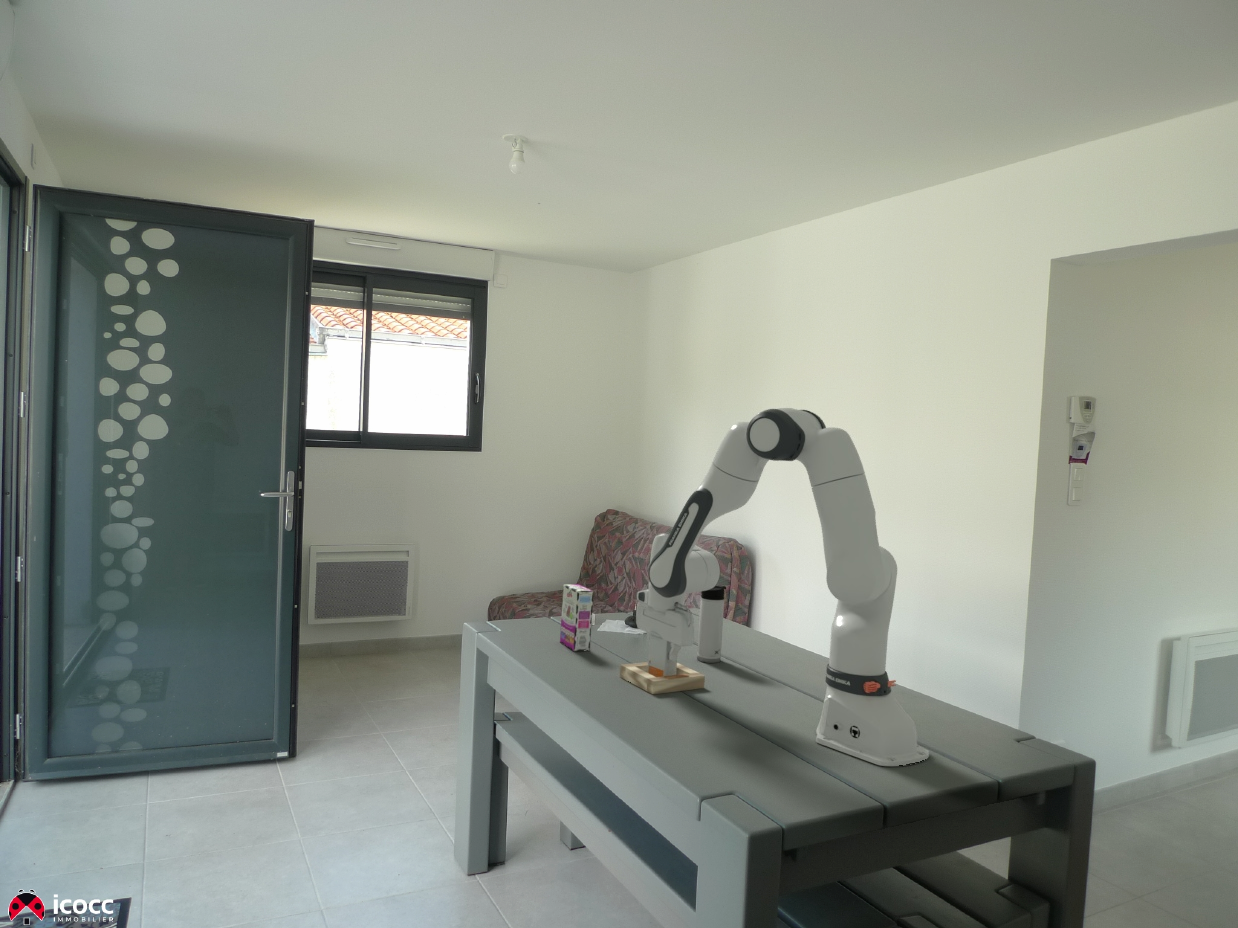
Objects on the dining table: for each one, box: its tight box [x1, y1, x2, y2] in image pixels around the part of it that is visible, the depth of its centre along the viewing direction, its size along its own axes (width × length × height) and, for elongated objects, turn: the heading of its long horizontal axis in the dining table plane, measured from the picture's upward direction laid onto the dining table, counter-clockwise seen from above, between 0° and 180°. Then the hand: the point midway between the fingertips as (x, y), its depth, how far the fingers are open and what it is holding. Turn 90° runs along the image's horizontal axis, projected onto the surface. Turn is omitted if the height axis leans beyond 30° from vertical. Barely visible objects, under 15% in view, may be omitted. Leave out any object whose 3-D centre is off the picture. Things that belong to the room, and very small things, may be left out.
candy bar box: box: [559, 583, 595, 652], centre depth 234 cm, size 11×5×16 cm, turn 25°
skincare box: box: [647, 631, 678, 677], centre depth 205 cm, size 6×4×12 cm
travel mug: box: [696, 585, 727, 664], centre depth 228 cm, size 6×7×20 cm
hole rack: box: [619, 661, 706, 695], centre depth 205 cm, size 15×15×3 cm
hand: (662, 656), depth 205 cm, fingers open, 7 cm apart
